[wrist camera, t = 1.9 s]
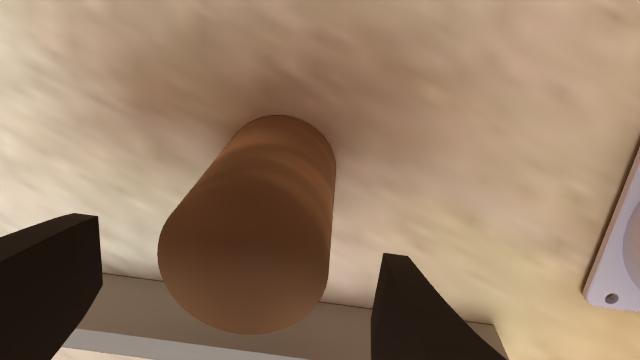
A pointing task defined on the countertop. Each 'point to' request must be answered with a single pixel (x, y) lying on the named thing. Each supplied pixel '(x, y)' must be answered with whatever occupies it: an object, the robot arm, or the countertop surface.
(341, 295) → the countertop surface
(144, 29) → the countertop surface
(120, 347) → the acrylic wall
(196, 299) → the walnut cylinder
